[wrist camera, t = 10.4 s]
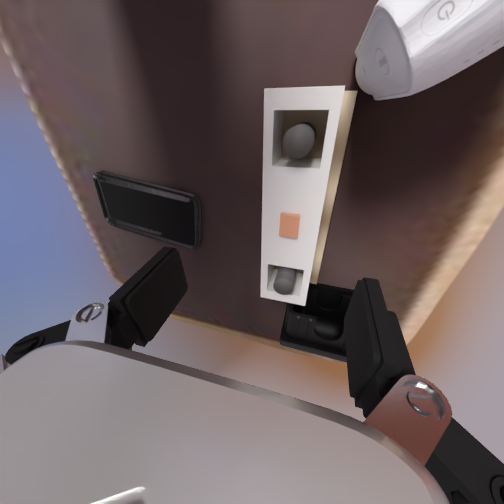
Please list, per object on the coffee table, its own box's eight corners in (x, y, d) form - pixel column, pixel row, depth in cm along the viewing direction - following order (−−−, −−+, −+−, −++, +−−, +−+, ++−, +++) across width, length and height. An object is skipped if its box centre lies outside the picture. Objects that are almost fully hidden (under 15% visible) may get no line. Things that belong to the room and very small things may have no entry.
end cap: (286, 313, 33) (278, 354, 27) (291, 277, 29) (282, 317, 23) (357, 330, 30) (363, 378, 25) (373, 293, 26) (384, 340, 21)
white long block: (276, 92, 17) (262, 87, 14) (341, 90, 16) (345, 84, 13) (268, 275, 28) (259, 300, 24) (307, 282, 27) (304, 309, 23)
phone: (91, 170, 28) (197, 198, 25) (98, 168, 28) (201, 195, 26) (106, 224, 32) (197, 252, 30) (112, 221, 33) (201, 247, 31)
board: (268, 93, 19) (246, 88, 14) (355, 91, 17) (367, 84, 12) (263, 268, 29) (249, 301, 24) (316, 278, 27) (314, 315, 22)
